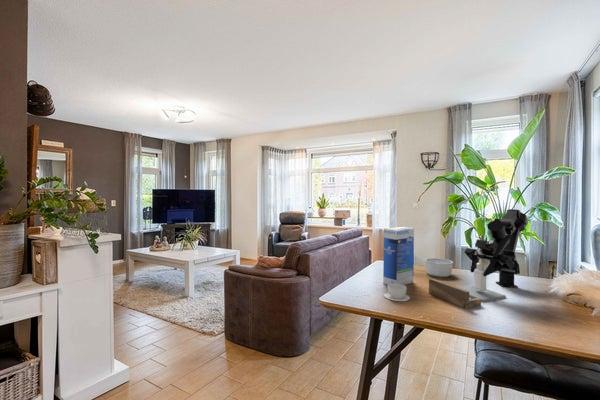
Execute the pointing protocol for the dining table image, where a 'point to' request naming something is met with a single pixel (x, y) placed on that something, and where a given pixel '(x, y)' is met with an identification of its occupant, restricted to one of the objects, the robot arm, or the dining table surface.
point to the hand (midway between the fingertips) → (477, 273)
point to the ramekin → (438, 267)
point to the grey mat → (483, 294)
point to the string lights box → (398, 256)
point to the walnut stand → (452, 294)
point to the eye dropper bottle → (479, 277)
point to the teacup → (397, 292)
